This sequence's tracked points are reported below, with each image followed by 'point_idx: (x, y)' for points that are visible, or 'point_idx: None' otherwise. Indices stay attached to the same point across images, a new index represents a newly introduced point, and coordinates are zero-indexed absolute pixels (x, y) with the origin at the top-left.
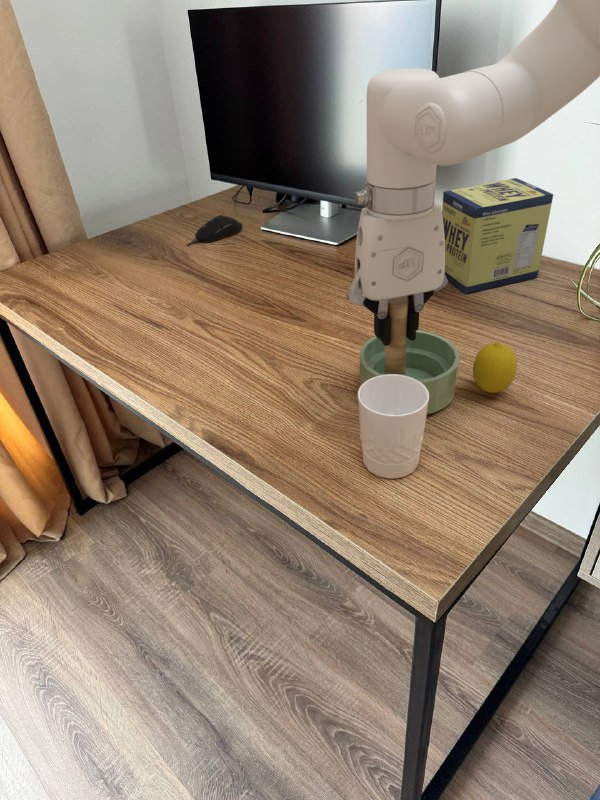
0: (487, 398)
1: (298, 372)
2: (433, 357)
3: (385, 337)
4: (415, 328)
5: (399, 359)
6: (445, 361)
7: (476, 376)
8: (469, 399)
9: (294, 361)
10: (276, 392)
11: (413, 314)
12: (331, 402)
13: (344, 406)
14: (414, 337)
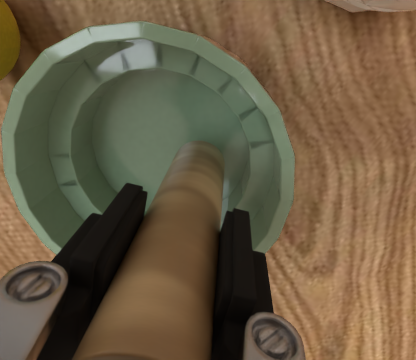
0: (20, 16)
1: (317, 301)
2: (72, 176)
3: (249, 233)
4: (111, 207)
5: (195, 169)
6: (53, 146)
7: (7, 37)
8: (62, 38)
9: (301, 327)
10: (393, 276)
11: (92, 261)
12: (330, 197)
13: (317, 172)
14: (128, 187)
